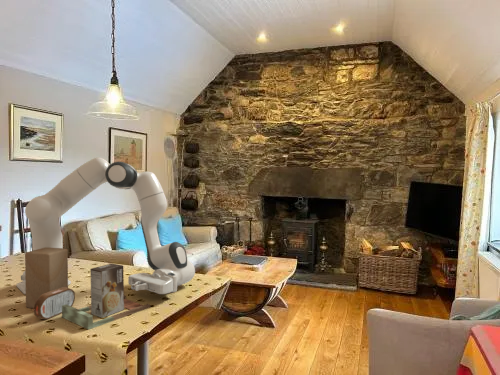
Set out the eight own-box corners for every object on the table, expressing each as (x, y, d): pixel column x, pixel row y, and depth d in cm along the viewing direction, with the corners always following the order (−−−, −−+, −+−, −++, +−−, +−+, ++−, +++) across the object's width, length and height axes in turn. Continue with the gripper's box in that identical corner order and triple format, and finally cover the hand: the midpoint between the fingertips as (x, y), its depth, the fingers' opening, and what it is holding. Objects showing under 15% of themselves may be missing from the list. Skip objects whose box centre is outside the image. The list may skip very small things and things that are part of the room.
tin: (70, 306, 136) (69, 283, 136) (76, 307, 135) (76, 284, 135) (32, 322, 122) (32, 296, 122) (40, 323, 121) (39, 298, 121)
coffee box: (112, 306, 137) (112, 262, 136) (124, 309, 134) (124, 265, 133) (90, 314, 129) (90, 268, 128) (102, 318, 126) (101, 271, 125)
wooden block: (49, 310, 132) (48, 254, 131) (25, 308, 134) (24, 252, 133) (68, 300, 142) (68, 248, 141) (45, 298, 144) (45, 247, 143)
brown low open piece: (62, 317, 126) (61, 305, 126) (123, 297, 146) (123, 287, 146) (88, 329, 117) (88, 317, 117) (150, 307, 136) (150, 296, 136)
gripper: (145, 267, 157) (116, 274, 146) (179, 276, 145) (151, 284, 134) (145, 282, 157) (116, 290, 146) (179, 292, 146) (151, 302, 134)
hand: (133, 287), depth 140 cm, fingers closed
